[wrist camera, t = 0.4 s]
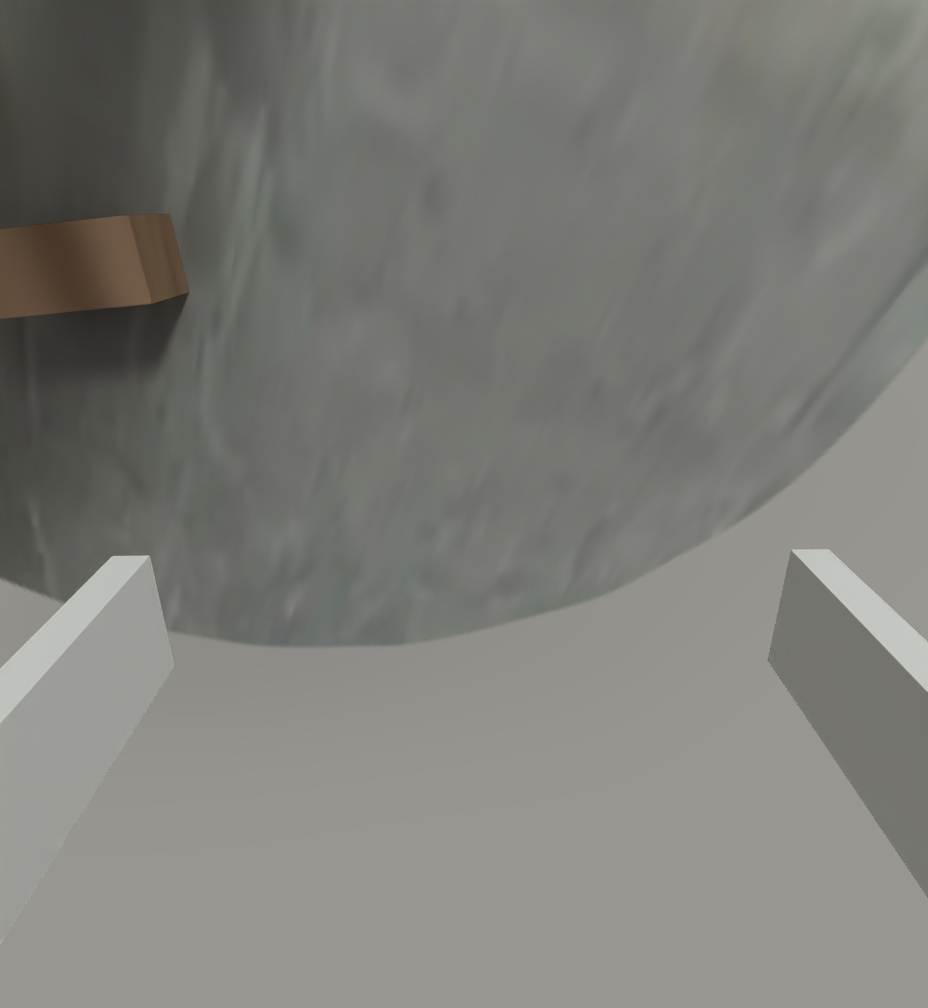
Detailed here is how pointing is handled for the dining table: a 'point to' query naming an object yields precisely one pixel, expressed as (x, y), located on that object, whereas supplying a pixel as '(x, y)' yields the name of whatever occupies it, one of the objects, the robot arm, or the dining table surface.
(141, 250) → the walnut brick
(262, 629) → the dining table surface
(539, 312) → the dining table surface
